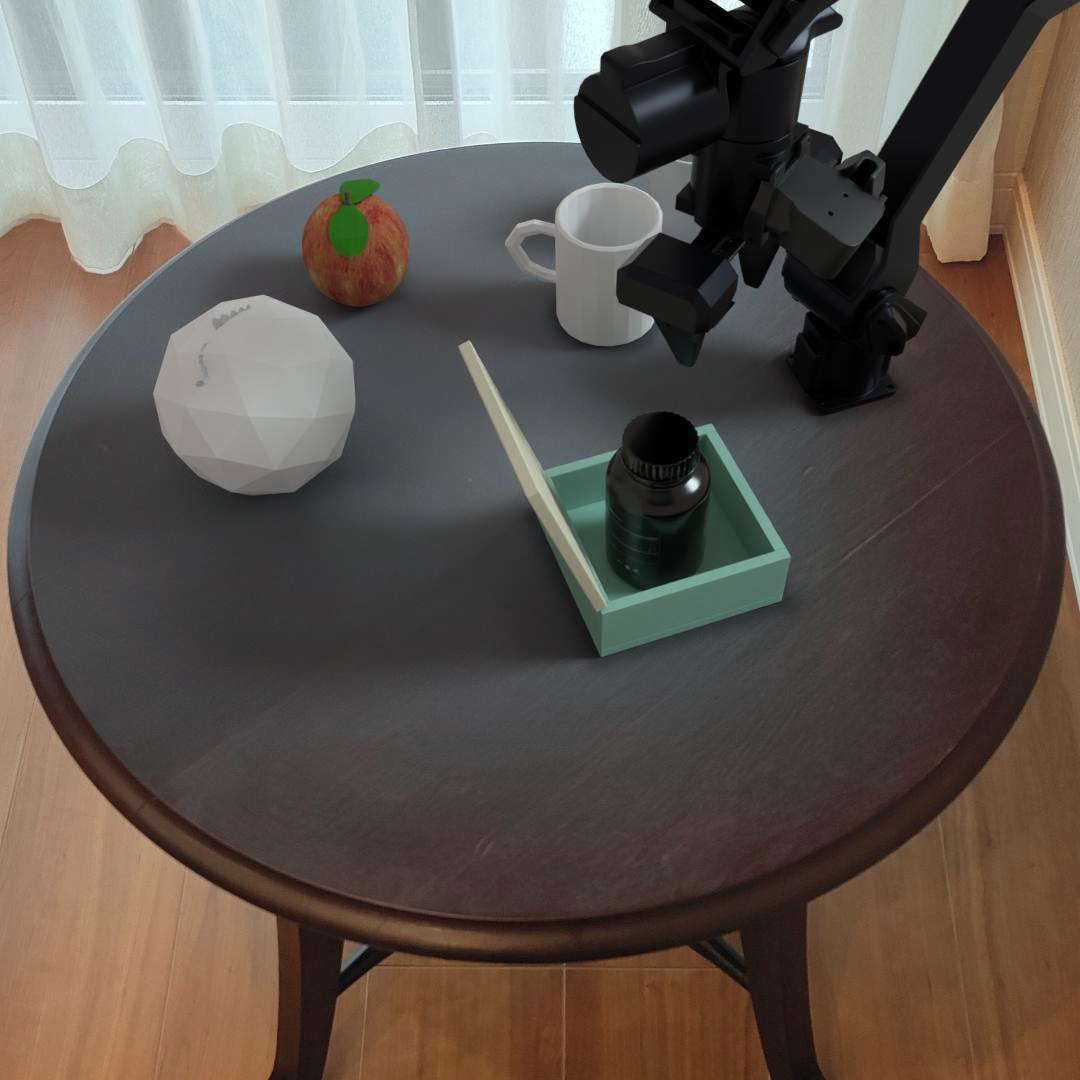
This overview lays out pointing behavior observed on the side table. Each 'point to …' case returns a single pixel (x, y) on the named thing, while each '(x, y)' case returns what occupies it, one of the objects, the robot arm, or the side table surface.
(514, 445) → the lid
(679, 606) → the teal shallow box
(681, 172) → the cup
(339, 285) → the fruit
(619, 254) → the mug
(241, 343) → the geodesic sphere
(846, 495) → the side table surface
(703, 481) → the supplement bottle
